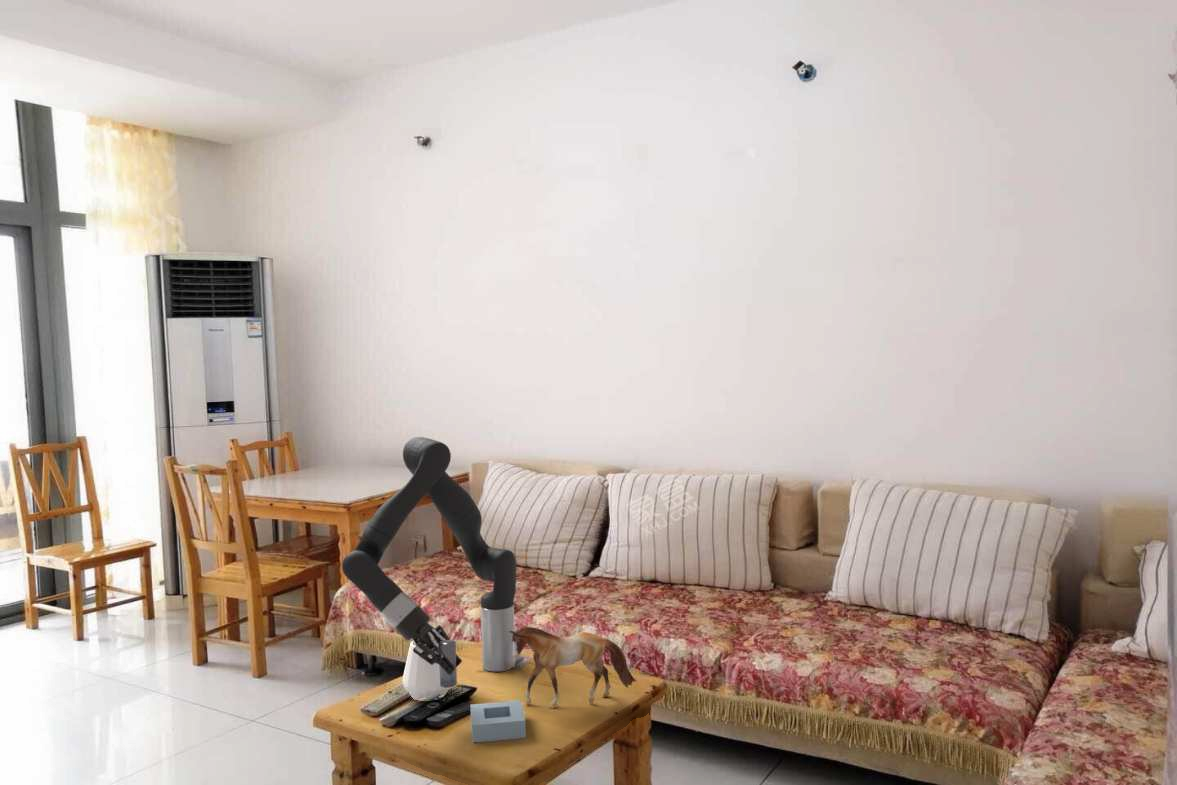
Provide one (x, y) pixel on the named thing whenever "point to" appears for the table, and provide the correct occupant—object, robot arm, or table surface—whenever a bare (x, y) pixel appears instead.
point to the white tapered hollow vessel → (421, 676)
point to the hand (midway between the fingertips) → (455, 667)
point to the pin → (450, 653)
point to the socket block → (497, 721)
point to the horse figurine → (570, 656)
